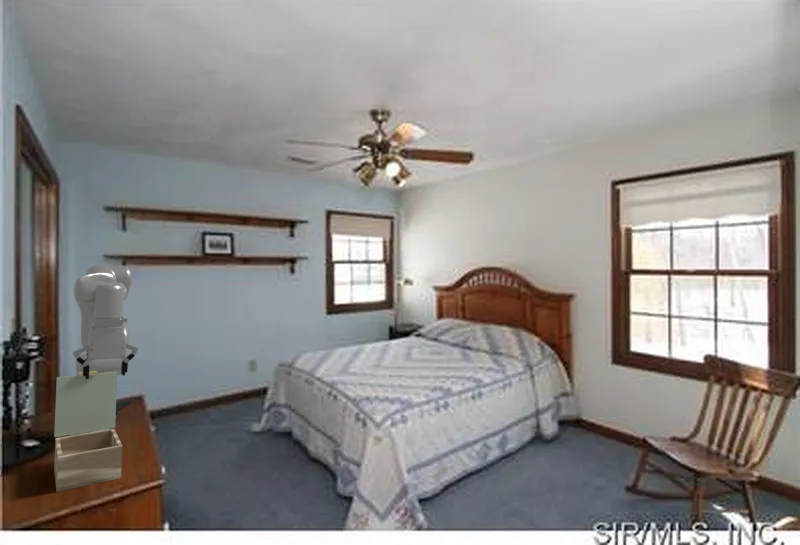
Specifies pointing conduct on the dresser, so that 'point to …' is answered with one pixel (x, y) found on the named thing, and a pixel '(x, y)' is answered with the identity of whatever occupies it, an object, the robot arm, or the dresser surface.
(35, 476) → the dresser surface
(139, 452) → the dresser surface
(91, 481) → the box
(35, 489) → the dresser surface
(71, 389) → the lid
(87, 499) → the dresser surface
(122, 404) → the sculpture
